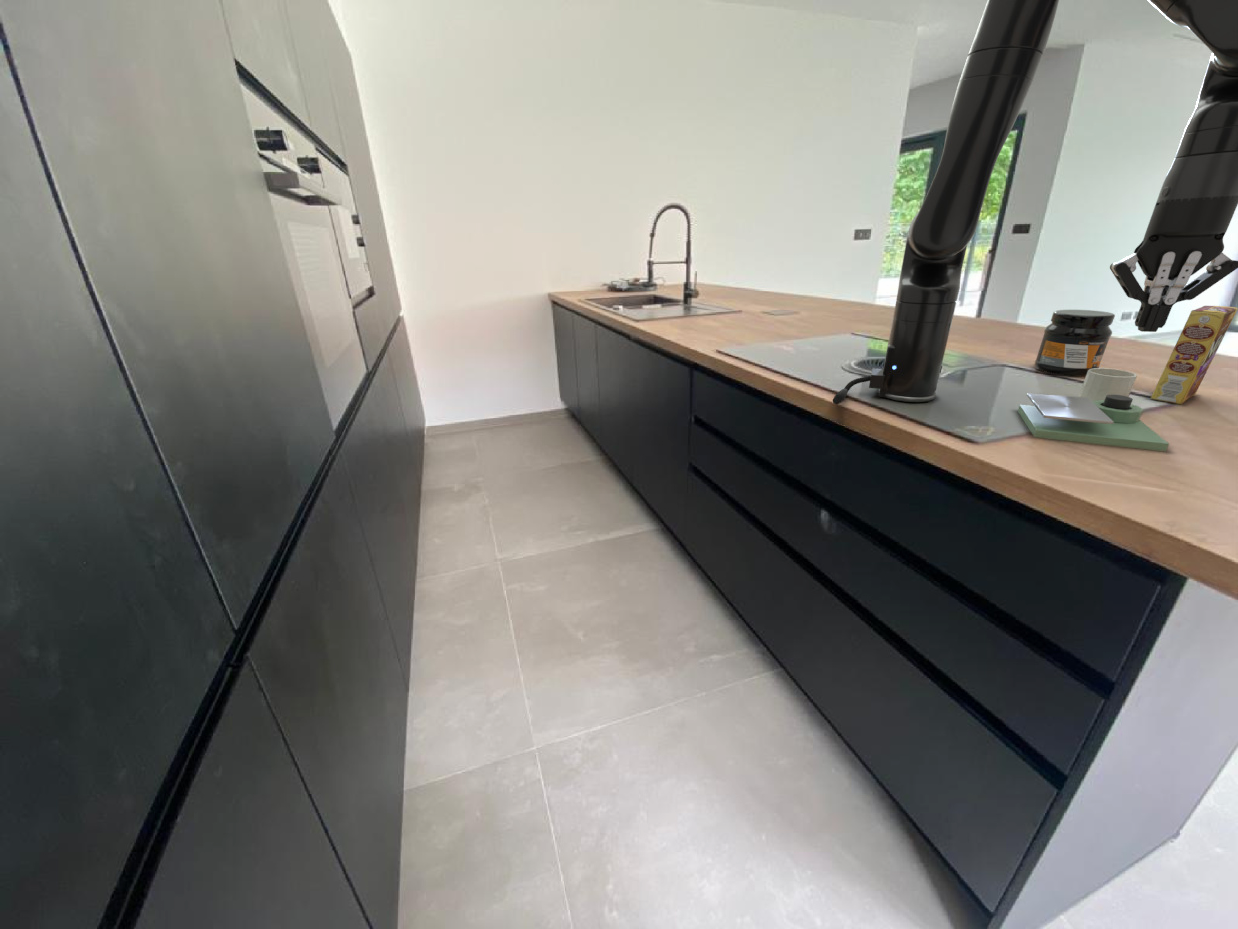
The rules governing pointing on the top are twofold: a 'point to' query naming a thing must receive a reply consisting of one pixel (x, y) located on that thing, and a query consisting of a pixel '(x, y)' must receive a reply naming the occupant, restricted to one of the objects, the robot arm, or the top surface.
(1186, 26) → the robot arm
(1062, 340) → the supplement container
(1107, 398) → the tare button
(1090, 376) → the white cup
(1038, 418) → the scale
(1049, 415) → the scale pan
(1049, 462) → the top surface
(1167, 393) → the candy box
